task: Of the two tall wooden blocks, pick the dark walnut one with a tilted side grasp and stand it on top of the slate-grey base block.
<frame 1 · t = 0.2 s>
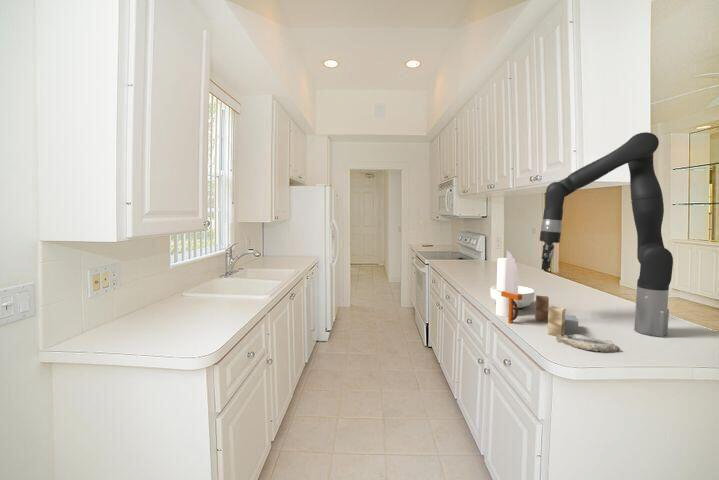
hand: (545, 269, 148), 22 cm above the countertop, tool pointing down, fingers open, 8 cm apart
knife: (510, 323, 146), on the countertop
base block: (564, 329, 138), on the countertop
oak block: (555, 334, 132), on the countertop
bowl: (511, 306, 172), on the countertop
fossil: (585, 346, 122), on the countertop
cylindrical container: (504, 314, 158), on the countertop
walnut block: (541, 320, 149), on the countertop
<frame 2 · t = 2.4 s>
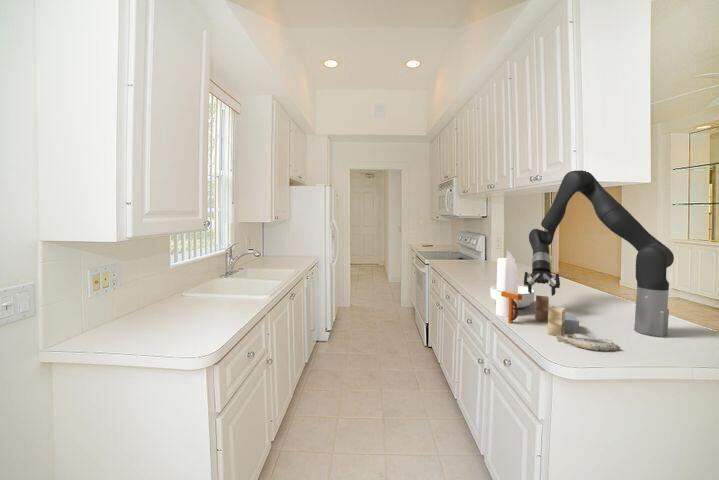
hand: (541, 293, 153), 10 cm above the countertop, tool tilted 45°, fingers open, 8 cm apart
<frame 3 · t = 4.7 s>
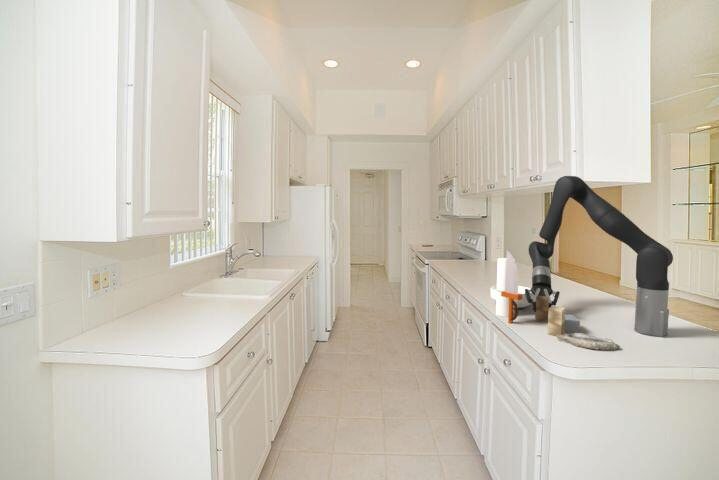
hand: (542, 311, 147), 4 cm above the countertop, tool tilted 45°, fingers closed on walnut block, 4 cm apart
walnut block: (541, 320, 149), on the countertop, touching gripper
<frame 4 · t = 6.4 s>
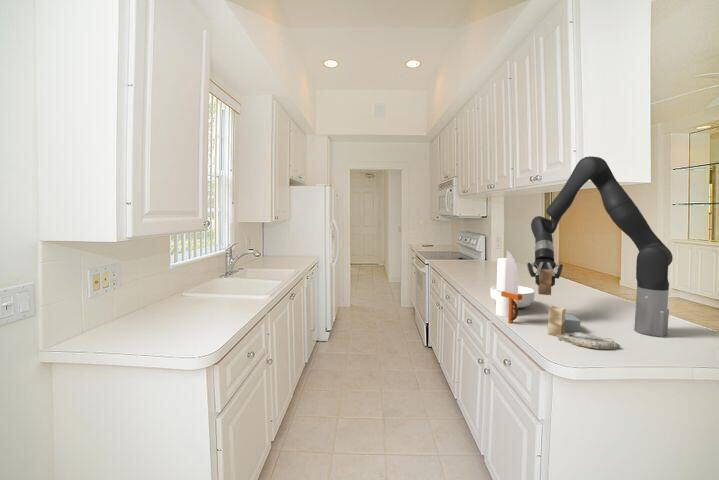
hand: (545, 284, 145), 16 cm above the countertop, tool tilted 45°, fingers closed on walnut block, 4 cm apart
walnut block: (544, 293, 148), point 12 cm above the countertop, touching gripper
when the fingers open (11 cm above the countertop, at t = 8.4 s): walnut block drops 2 cm, point 5 cm above the countertop.
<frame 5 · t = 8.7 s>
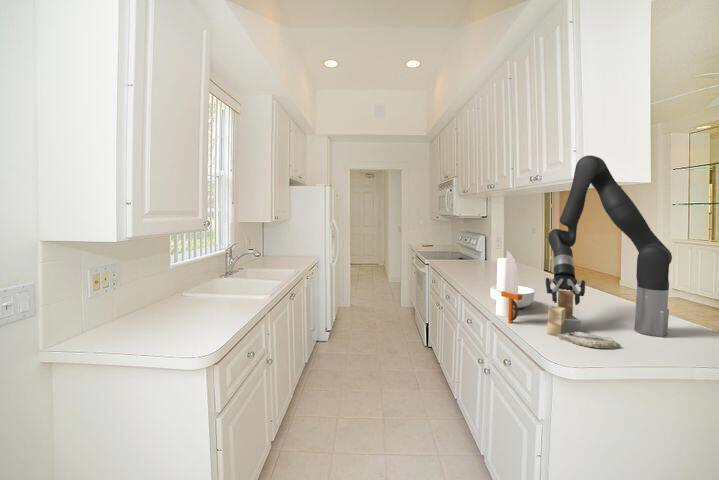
hand: (566, 302, 136), 11 cm above the countertop, tool tilted 45°, fingers open, 6 cm apart
walnut block: (564, 317, 138), point 5 cm above the countertop
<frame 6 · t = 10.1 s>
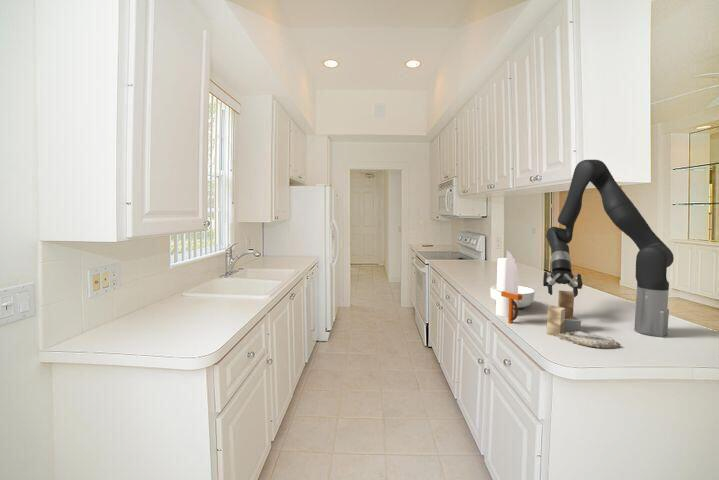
hand: (563, 295, 145), 12 cm above the countertop, tool tilted 45°, fingers open, 8 cm apart
base block: (564, 329, 138), on the countertop, touching walnut block
walnut block: (565, 317, 138), point 5 cm above the countertop, touching base block
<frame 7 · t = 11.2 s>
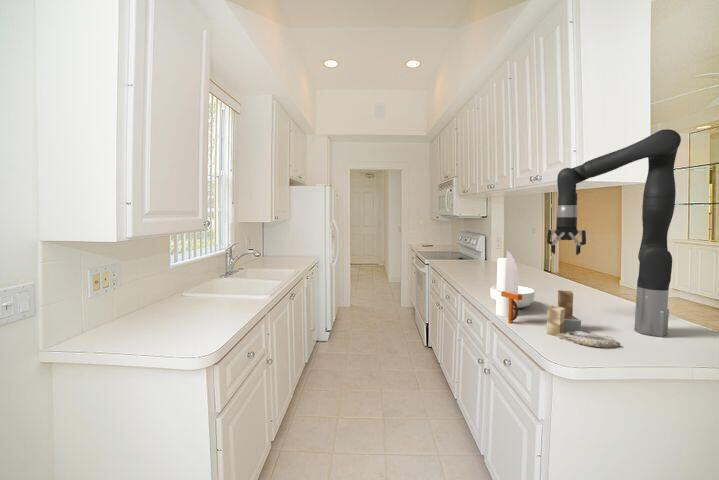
hand: (565, 254, 150), 28 cm above the countertop, tool pointing down, fingers open, 8 cm apart
base block: (564, 329, 138), on the countertop
walnut block: (564, 317, 138), point 5 cm above the countertop
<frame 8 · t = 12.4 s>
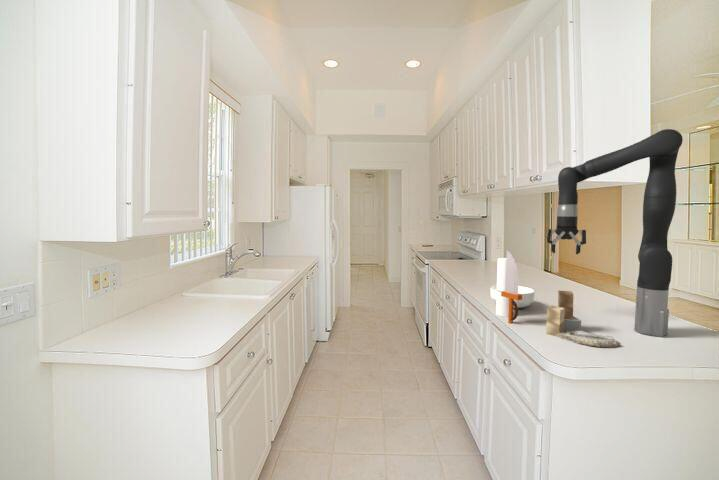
hand: (565, 253, 150), 28 cm above the countertop, tool pointing down, fingers open, 8 cm apart
at the end: walnut block inside the target area on the base block (0.3 cm from its centre), point 5.1 cm above the base block's base; walnut block tilted 2°; the gripper is holding nothing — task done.
